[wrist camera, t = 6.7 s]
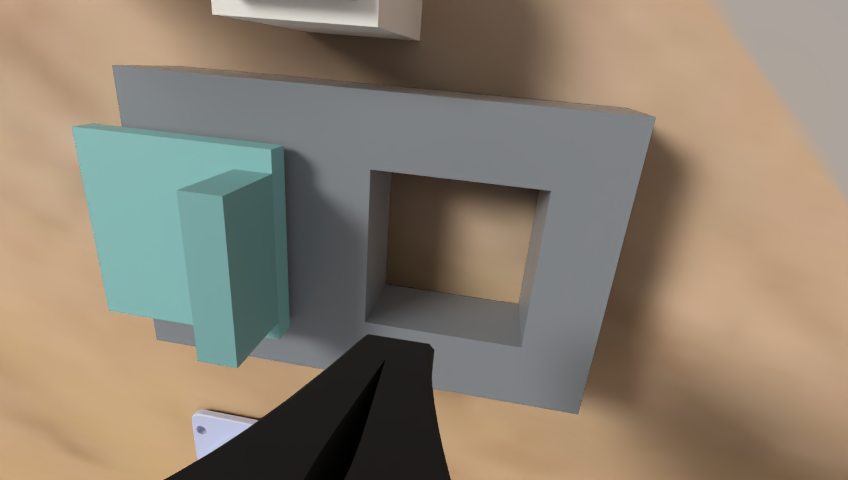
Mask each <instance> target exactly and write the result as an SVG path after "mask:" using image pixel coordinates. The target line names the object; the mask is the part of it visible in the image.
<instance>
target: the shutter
mask: <svg viewBox="0 0 848 480" xmlns="http://www.w3.org/2000/svg"><path fill="white" fill-rule="evenodd" d="M72 131H73V136H74V141H75V146H76V151H77V156H78V161H79V166H80V170H81V175H82V180H83V185H84V190H85V195H86V200H87V205H88V210H89V215H90V220H91V225H92V229H93V234H94V239H95V244H96V249H97V254H98V259H99V264H100V269H101V274H102V279H103V283H104V288H105V293H106V298H107V303H108V308H109V311H114V312H120V313H126V314H131V315H137V316H143V317H149V318H155V319H161V320H167V321H172V322H178V323H184V324H190V325H193V327H194V334H195V342H196V350H197V358H198V361H200V362H206V363H211V364H217V365H222V366H228V367H233V368H238V367H239V366H240V365H241V364H242V362H243V361H244V360H245V359H246V358H247V357H248V356H249V355H250V353H251V352H252V351H253V350H254V349H255V348H256V347H257V346H258V345H259V343H260V342H261V341H262V340H263V339H264V338H265V337H266V338H272V339H278V340H280V338H281V337H282V336H283V335H284V334H285V332H286V331H287V330H288V329H289V328H290V318H289V289H288V260H287V231H286V202H285V173H284V145H277V144H268V143H259V142H251V141H242V140H233V139H224V138H215V137H207V136H198V135H189V134H180V133H172V132H163V131H154V130H145V129H137V128H128V127H119V126H110V125H101V124H87V125H80V126H72Z"/></svg>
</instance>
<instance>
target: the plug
mask: <svg viewBox="0 0 848 480" xmlns="http://www.w3.org/2000/svg"><path fill="white" fill-rule="evenodd" d="M422 2H423V0H211V4H212V14H213V15H218V16H224V17H229V18H234V19H240V20H245V21H251V22H256V23H261V24H267V25H272V26H277V27H283V28H288V29H294V30H299V31H304V32H315V33H327V34H340V35H352V36H365V37H377V38H390V39H402V40H415V41H420V31H421V17H422Z"/></svg>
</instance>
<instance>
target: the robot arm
mask: <svg viewBox="0 0 848 480" xmlns="http://www.w3.org/2000/svg"><path fill="white" fill-rule="evenodd" d="M433 360H434V349H433V348H432V346H431V345H430V344H428V343H421V342H415V341H409V340H402V339H396V338H390V337H384V336H377V335H371V334H367V335H366V336H364V337H363V338H362V339H360V340H359V341H358V342H357V343H356V344H355V345H353V346H352V347H351V348H350V349H349V350H348V351H346V352H345V353H344V354H343V355H342V356H341V357H339V358H338V359H337V360H336V361H335V362H334V363H332V364H331V365H330V366H329V367H328V368H326V369H325V370H324V371H323V372H322V373H320V374H319V375H318V376H317V377H315V378H314V379H313V380H312V381H310V382H309V383H308V384H306V385H305V386H304V387H303V388H301V389H300V390H299V391H298V392H296V393H295V394H294V395H293V396H291V397H290V398H289V399H287V400H286V401H285V402H283V403H282V404H281V405H279V406H278V407H276V408H275V409H274V410H272V411H271V412H269V413H268V414H267V415H265V416H264V417H262V418H261V419H260V420H255V419H250V418H245V417H240V416H234V415H229V414H224V413H219V412H214V411H209V410H202V409H200V410H198V411H197V412H196V413H195V414H194V415H193V416H192V425H193V432H194V439H195V447H196V454H197V461H196V462H194V463H192V464H191V465H189V466H187V467H186V468H184V469H182V470H181V471H179V472H177V473H175V474H174V475H172V476H170V477H168V478H166V479H165V480H451V479H450V475H449V471H448V467H447V463H446V459H445V455H444V451H443V447H442V442H441V438H440V433H439V428H438V422H437V416H436V410H435V404H434V397H433V387H432V370H433Z"/></svg>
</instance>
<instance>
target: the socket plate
mask: <svg viewBox="0 0 848 480" xmlns="http://www.w3.org/2000/svg"><path fill="white" fill-rule="evenodd" d="M112 68H113V74H114V80H115V86H116V92H117V98H118V105H119V111H120V117H121V123H122V127H128V128H137V129H145V130H154V131H163V132H172V133H180V134H189V135H198V136H207V137H215V138H224V139H233V140H242V141H251V142H259V143H268V144H277V145H284V173H285V202H286V231H287V260H288V289H289V318H290V328H289V329H288V330H287V331H286V332H285V334H284V335H283V336H282V337H281V338H280V340H278V339H272V338H266V337H265V338H264V339H263V340H262V341H261V342H260V343H259V345H258V346H257V347H256V348H255V349H254V350H253V351H252V352H251V353H250V355H249V356H252V357H257V358H263V359H269V360H274V361H280V362H285V363H291V364H297V365H302V366H308V367H314V368H319V369H326V368H328V367H329V366H330V365H331V364H332V363H334V362H335V361H336V360H337V359H338V358H339V357H341V356H342V355H343V354H344V353H345V352H346V351H348V350H349V349H350V348H351V347H352V346H353V345H355V344H356V343H357V342H358V341H359V340H360V339H362V338H363V337H364V336H366V335H367V334H371V335H377V336H384V337H390V338H396V339H402V340H409V341H415V342H421V343H428V344H430V345H431V346H432V348H433V349H434V360H433V370H432V387H433V389H438V390H443V391H449V392H455V393H460V394H466V395H472V396H477V397H483V398H489V399H494V400H500V401H505V402H511V403H517V404H522V405H528V406H534V407H539V408H545V409H551V410H556V411H562V412H568V413H573V414H578V413H579V409H580V405H581V401H582V397H583V394H584V390H585V386H586V382H587V378H588V374H589V371H590V367H591V363H592V359H593V355H594V352H595V348H596V344H597V340H598V336H599V332H600V329H601V325H602V321H603V317H604V313H605V310H606V306H607V302H608V298H609V294H610V290H611V287H612V283H613V279H614V275H615V271H616V268H617V264H618V260H619V256H620V252H621V248H622V245H623V241H624V237H625V233H626V229H627V226H628V222H629V218H630V214H631V210H632V207H633V203H634V199H635V195H636V191H637V187H638V184H639V180H640V176H641V172H642V168H643V165H644V161H645V157H646V153H647V149H648V145H649V142H650V138H651V134H652V130H653V126H654V123H655V119H656V117H654V116H651V115H648V114H644V113H641V112H638V111H635V110H632V109H629V108H622V107H611V106H600V105H590V104H579V103H568V102H558V101H547V100H536V99H526V98H515V97H504V96H494V95H483V94H472V93H462V92H451V91H440V90H430V89H419V88H408V87H398V86H387V85H376V84H366V83H355V82H344V81H334V80H323V79H312V78H302V77H291V76H280V75H270V74H259V73H248V72H238V71H227V70H216V69H206V68H195V67H184V66H140V65H112ZM392 172H395V173H404V174H412V175H421V176H429V177H438V178H446V179H455V180H463V181H471V182H480V183H488V184H497V185H505V186H514V187H522V188H531V189H539V194H538V200H537V205H536V211H535V216H534V222H533V227H532V233H531V239H530V244H529V250H528V255H527V261H526V266H525V272H524V278H523V283H522V289H521V294H520V300H519V304H514V303H507V302H501V301H494V300H487V299H481V298H474V297H467V296H461V295H454V294H447V293H441V292H434V291H427V290H421V289H414V288H407V287H401V286H394V285H387V284H386V268H387V250H388V231H389V213H390V195H391V176H392ZM153 319H154V325H155V331H156V338H157V340H161V341H167V342H173V343H178V344H184V345H190V346H195V347H196V342H195V334H194V327H193V325H190V324H184V323H178V322H172V321H167V320H161V319H155V318H153Z"/></svg>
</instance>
